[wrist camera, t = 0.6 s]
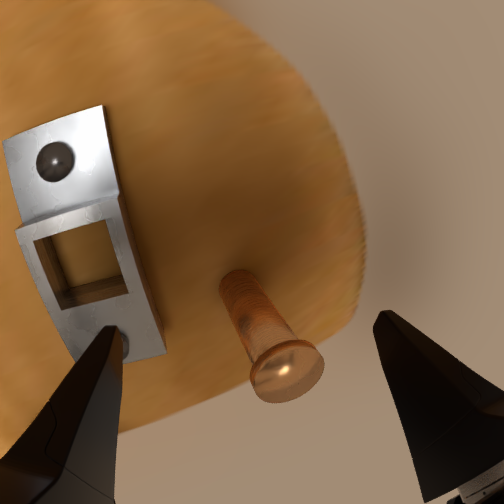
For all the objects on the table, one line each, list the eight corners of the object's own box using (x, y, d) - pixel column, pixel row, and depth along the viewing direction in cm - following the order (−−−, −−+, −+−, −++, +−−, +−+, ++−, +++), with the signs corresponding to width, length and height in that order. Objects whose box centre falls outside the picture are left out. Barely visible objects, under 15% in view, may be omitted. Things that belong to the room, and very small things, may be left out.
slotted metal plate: (163, 329, 24) (168, 359, 21) (85, 348, 22) (80, 378, 19) (105, 106, 17) (95, 102, 14) (11, 139, 15) (-13, 144, 12)
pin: (264, 301, 26) (323, 387, 17) (217, 315, 25) (259, 411, 16) (259, 258, 24) (324, 338, 15) (207, 271, 23) (249, 364, 14)
